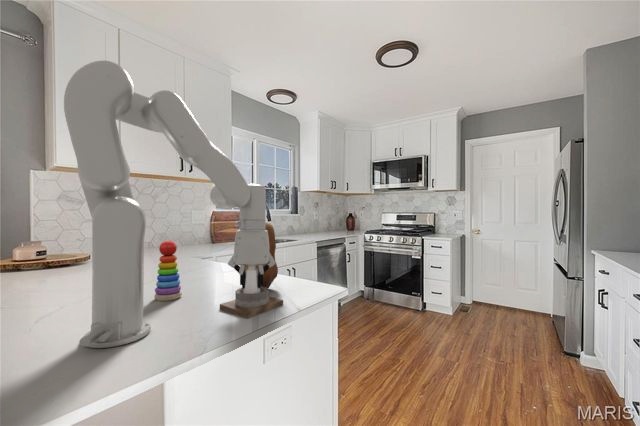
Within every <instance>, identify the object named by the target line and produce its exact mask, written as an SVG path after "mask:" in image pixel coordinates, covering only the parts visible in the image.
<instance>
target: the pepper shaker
mask: <svg viewBox="0 0 640 426" xmlns="http://www.w3.org/2000/svg"><path fill="white" fill-rule="evenodd" d="M256 266H257V265H248V269H246V271H245V288H244V289H243V293H245V294H254V293H260V288H258V274H259V271H258V269H257V267H256Z"/></svg>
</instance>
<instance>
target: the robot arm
mask: <svg viewBox="0 0 640 426" xmlns="http://www.w3.org/2000/svg"><path fill="white" fill-rule="evenodd" d="M63 109H64V110H63V112H64V117H65V121H66V126H67V129H68V132H69V136H70V140H71V141H70V142H71V144H72V148H73V151H74V154H75V158H76V162H77V163H76V164H77V174H78V177H79V181H80V185H81V188H82V191H83V194H84V198H85V201H86V204H87V207H88V211H89V213H90V216H91V219H92V222H91V226H92V231H91V232H92V241H91V242H92V243H91V245H92V246H91V248H92V249H91V253H92V255H91V259H92V261H91V270H92V271H91V272H92V273H91V275H92V276H91V277H92V279H91V281H92V282H91V283H92V285H91V287H92V288H91V289H92V290H91V293H92V294H91V295H92V296H91V310H92V311H91V325H90V331H88V332H87V333H85V334H84V335H83V336H82V338H80V339H79V344H80V346H82V347H85V348H86V347H87V348H91V349H106V348H113V347H119V346H123V345H127V344H130V343H133V342H135V341H138V340H140V339H142V338H144V337H145V336H147V335H148V334H149V333H150V332H151V328H152V325H151V324H150V322H148V321H145V320H144V285H145V283H144V277H145V274H144V273H145V272H144V270H145V267H144V261H145V260H144V255H145V254H144V253H145V251H144V249H145V236H146V225H147V220H146V219H147V218H146V214H145V211H144V209H143V207H142V206H141V205H140V204H139V202H137V200H135V198H134V195H133V191H132V188H131V184H130V181H129V179H130V176H131V168H130V165H129V163H128V161H127V158H126V155H125V152H124V149H123V145H122V141H121V139H120V134H119V129H118V125H117V121H119V122H122V123H125V124H129V125H131V126H134V127H137V128H140V129H144V130H147V131H150V132H154V133H161V134H162V135H164V136H165V138H166V139H167V140H168V142H169V143H170V144H171V146H172V147H173V148H174V150H175V152H176V153H177V154H178V155H179V157H180V158H181V160H183V161H184V162H186V163H187V164H189V165H190V166H192V167H195V168H197V169H198V170H200V171H201V172H202V173H203V174H204V175H206V176H207V178H208V179H209V180H210V181H211V182H212V184H214V186H213V187H212V189H211V190H210V192H209V196H210V197H209V199H210V201H211V203H212V204H213V205H215V206H216V207H218V208H220V209H239V220H238V221H235V222H234V227H237V228H238V229H239V230H236V233H235V238H234V247H233V255H232V257H231V258H230V260H229V261H228V262H227V265H228V266H230V267H231V268H233V269H234V270H235V271H236V272H237V273H238V274H239V285H240V286H241V288H242V289H244V288H245V271H244V270H245V265H259V274H258V288H261V285H263V274H264V273H265V272H266V271H267V270H268V269H269V268H270V267H272V266H273V265H275V261H276V259H275V260H274V259H273V257H272V256H271V254H270V253H269V236H268V231H267V230H265V222H266V210H267V209H266V205H267V203H266V202H267V198H266V197H267V196H266V195H267V190H266V187H265V186H264V185H262V184H255V183H250V184H249V183H247V181H246V179H245V178H244V176H243V175H242V173H241V171H240V170H239V169H238V167H237V166H236V165H235V164H234V162H233V161H232V160H231V159H230V158H229V157H228V156H227V155H226V154H225V153H223V152H222V151H221V150H220V149H219V148H218V147H216V145H214V144H213V143H212V142H211V140H210V139H209V137H208V136H207V134H206V133H205V132H204V130H203V129H202V127H201V126H200V124H199V123H198V121H197V119H195V117H194V115H193V114H192V112H191V110H190V109H189V108H188V107H187V105H186V103H185V102H184V101H183V100H182V98H181V97H180V96H179V95H178V94H176V93H175V92H173V91H170V90H159V91H156V92H154V93H152V95H151V96H150V97H147V96H145V95H143V94H139V93H137V92H135V88H134V83H133V80H132V79H131V76H130V74H129V73H128V72H127V71H126V70H125V68H124V67H122V66H121V65H119V64H118V63H116V62H114V61H110V60H103V59H102V60H95V61H93V62H89V63H87V64H85V65H83V66H82V67H80V68H79V69H77V71H75V72H74V73H73V75H72V76H71V77H70V79H69V80H68V82H67V84H66V87H65V90H64V96H63ZM269 261H270V263H268V262H269ZM267 263H268V264H267ZM264 264H266V265H265V266H264Z"/></svg>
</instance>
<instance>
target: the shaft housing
mask: <svg viewBox="0 0 640 426" xmlns="http://www.w3.org/2000/svg"><path fill="white" fill-rule="evenodd" d="M269 292H270V288H266V287H261V288H260V293H254V294H245V293H243V289H242V287H240V288H237V289H236V290H235V295H234V296H235V299H233V300H229V301H225V302H222V303H219V310H221V311H224V312H226V313H230V314H232V315H236V316H239V317H242V318H246V319H249V318H252V317H255V316H257V315H261V314H262V313H265V312H268V311H271V310H273V309H276V308H278V307H279V308H280V307H282V306H283V305H284V300H283V299H280V298H276V297H274V296H273V297H272V296H269V295H270V293H269Z"/></svg>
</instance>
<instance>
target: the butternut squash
mask: <svg viewBox="0 0 640 426" xmlns="http://www.w3.org/2000/svg"><path fill="white" fill-rule="evenodd" d="M265 230H267V231H268V236H269V253H270V254H271V256H272V257H273V259H274V260H275V265H273V266H272V267H270V268H269V269H268V270H267V271H266V272H265V273H264V274H263V285H261V287H266V288H268V289H270V287H271V285H272V284H273V282H274V280H275V279H276V278H277V277H278V272H279V270H278V269H279V268H278V264H277V260H276V249H277V243H276V234H275V233H276V232H275V228H274V227H273V224H272V223H271V222H268V221H265ZM268 263H270V261H269V262H268ZM268 263H267V264H268ZM265 265H266V264H264V266H265ZM256 267H257V269H258V271H259V265H257V266H256ZM246 269H248V265H245V270H244V271H246Z"/></svg>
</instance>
